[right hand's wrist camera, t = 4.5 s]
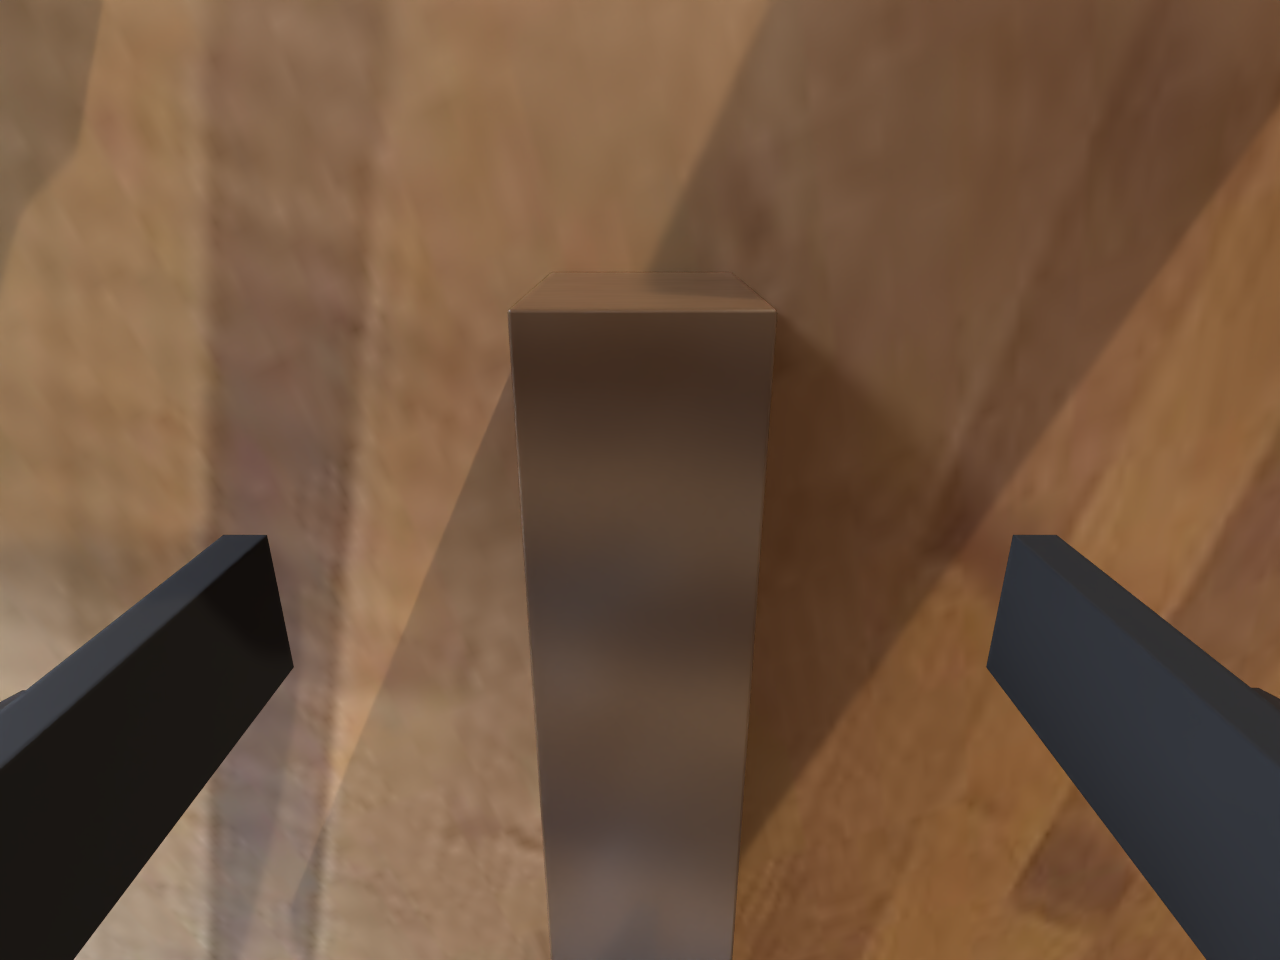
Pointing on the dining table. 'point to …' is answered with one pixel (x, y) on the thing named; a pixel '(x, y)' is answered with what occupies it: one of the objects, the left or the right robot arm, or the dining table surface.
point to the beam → (641, 596)
